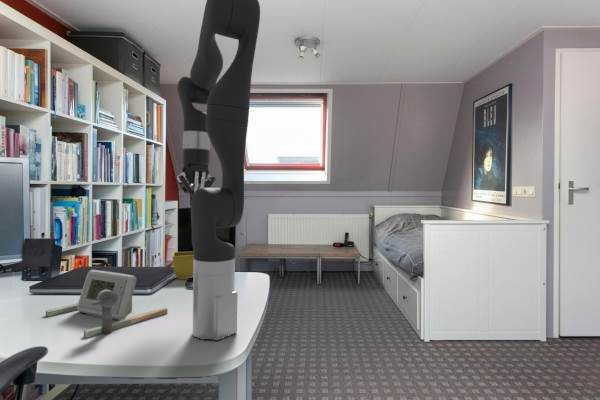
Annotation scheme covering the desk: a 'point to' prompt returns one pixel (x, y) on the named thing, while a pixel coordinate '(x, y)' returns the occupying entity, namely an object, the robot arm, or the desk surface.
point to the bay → (108, 314)
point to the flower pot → (183, 264)
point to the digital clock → (109, 281)
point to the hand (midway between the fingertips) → (195, 208)
